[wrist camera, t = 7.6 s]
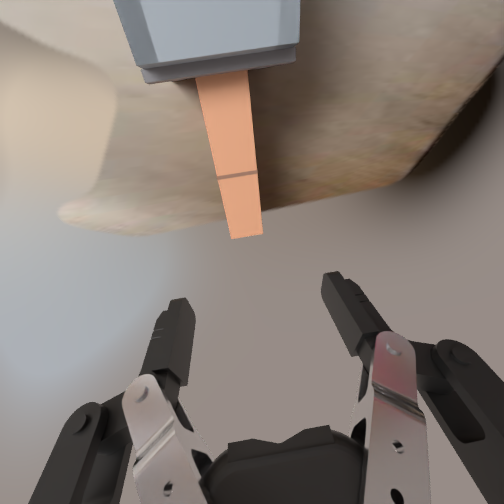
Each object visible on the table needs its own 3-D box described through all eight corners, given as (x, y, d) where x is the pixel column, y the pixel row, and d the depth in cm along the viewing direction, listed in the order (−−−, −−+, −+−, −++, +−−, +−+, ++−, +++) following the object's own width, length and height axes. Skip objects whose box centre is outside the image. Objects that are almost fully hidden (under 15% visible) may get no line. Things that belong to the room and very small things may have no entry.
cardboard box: (238, 54, 17) (244, 33, 12) (256, 210, 26) (263, 233, 21) (196, 60, 16) (185, 42, 12) (229, 214, 26) (230, 239, 21)
